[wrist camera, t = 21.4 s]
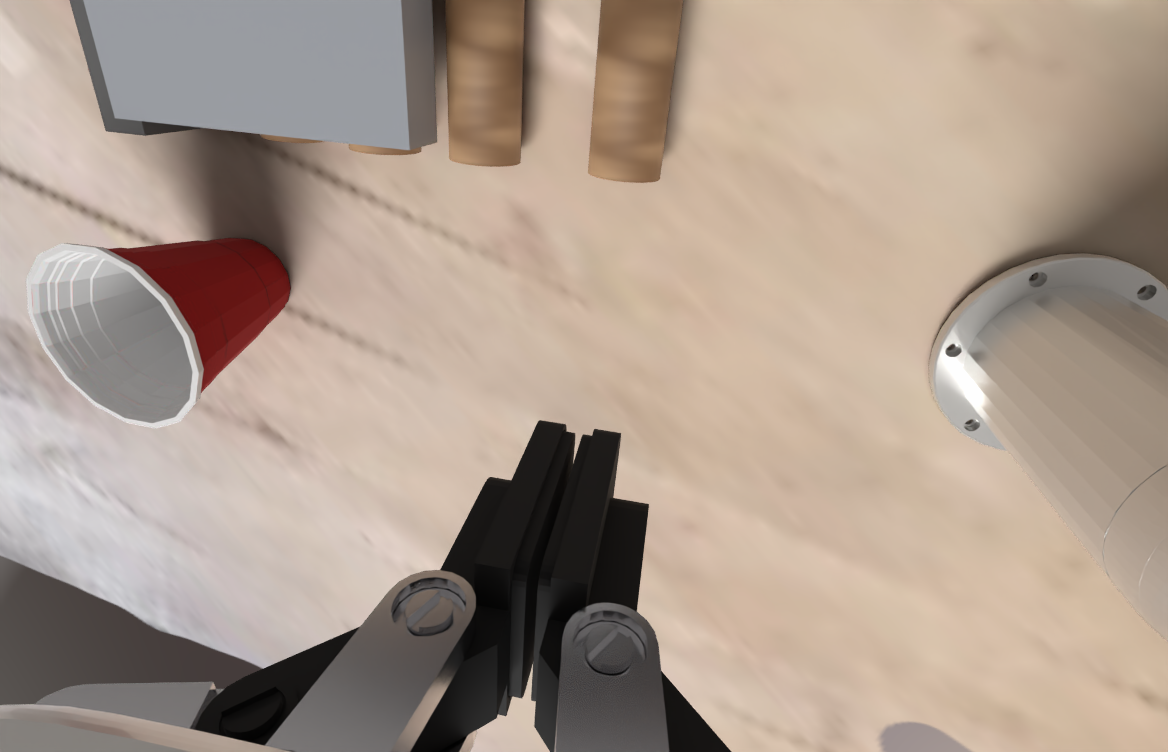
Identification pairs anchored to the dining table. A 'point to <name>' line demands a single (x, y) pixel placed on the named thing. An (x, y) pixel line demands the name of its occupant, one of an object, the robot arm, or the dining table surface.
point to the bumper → (101, 89)
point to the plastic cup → (152, 319)
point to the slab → (273, 66)
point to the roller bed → (621, 95)
